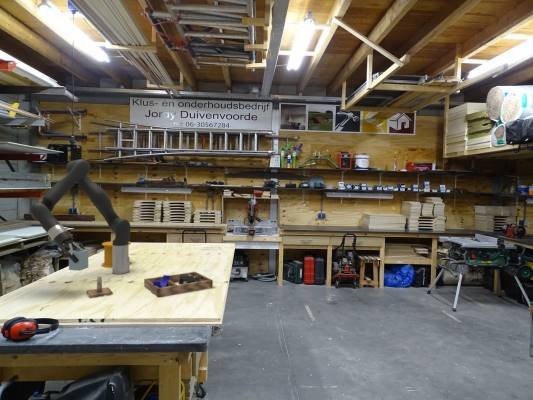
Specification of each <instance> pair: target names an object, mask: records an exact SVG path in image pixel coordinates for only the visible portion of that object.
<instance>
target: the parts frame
mask: <svg viewBox="0 0 533 400" xmlns="http://www.w3.org/2000/svg"><path fill="white" fill-rule="evenodd" d="M169 275H170V274H169ZM189 275H193V276H194V277H197V276H203V277H204V279H201V278H200V282H189V283H188V282H186V283H185V284H181V285H179V284H176V283H178V282H179V280H180V276H188V277H189ZM163 276H164V275H162V276H156V277H149V278H144V280H143V282H144V284H143V285H144V288H146V289H147V290H148V291H150V292H151V293H152V294H153V295H155V296H156V297H157V298H160V297H161V298H162V297H167V296H172V295H177V294H184V293H190V292H195V291H200V289H201V290H206V289H212V288H213V282H214V281H213V279H211V278H209V277H207V276H205V275H203V274H201V273H199V272H198V271H191V272H183V273H177V274H171V275H170V280H168V287H162V288H159V287H158V286H154V285H153V281H162V280H163ZM194 290H195V291H194ZM189 291H190V292H189Z"/></svg>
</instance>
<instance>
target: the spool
mask: <svg viewBox="0 0 533 400" xmlns="http://www.w3.org/2000/svg"><path fill="white" fill-rule="evenodd" d="M112 242H113V240H112V241H104V242H102V243H101V246H103V247H104V250H103V251H104V253H103V257H104V262H103V263H102V264H101V267H103V268H109V269H112ZM131 244H132V242H131V241H129V246H130V245H131ZM131 264H132V263H131V261H130V265H131Z"/></svg>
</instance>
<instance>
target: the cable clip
mask: <svg viewBox="0 0 533 400" xmlns="http://www.w3.org/2000/svg"><path fill="white" fill-rule="evenodd" d="M162 276H163V280H162V281H153V285H154V286H158V287H159V288H162V287H168V280H170V274H169V275H166V274H164V275H162Z"/></svg>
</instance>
